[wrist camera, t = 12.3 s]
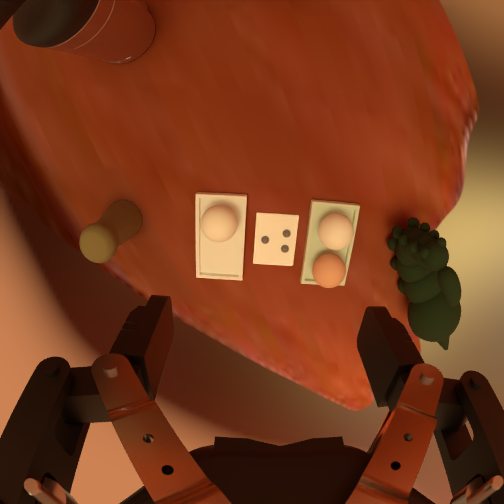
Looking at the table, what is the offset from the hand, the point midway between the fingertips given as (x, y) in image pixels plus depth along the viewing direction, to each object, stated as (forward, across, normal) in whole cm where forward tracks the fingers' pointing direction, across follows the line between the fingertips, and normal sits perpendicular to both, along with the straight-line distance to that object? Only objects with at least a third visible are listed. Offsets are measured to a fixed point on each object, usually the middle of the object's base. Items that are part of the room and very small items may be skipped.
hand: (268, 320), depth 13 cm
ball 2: (+32, -11, +7) cm, 35 cm away
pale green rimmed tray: (+33, -11, +10) cm, 36 cm away
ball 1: (+32, +5, +7) cm, 33 cm away
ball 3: (+32, -11, +13) cm, 37 cm away
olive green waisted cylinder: (+33, +20, +8) cm, 39 cm away
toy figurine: (+33, -27, +14) cm, 45 cm away
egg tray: (+33, +5, +10) cm, 35 cm away
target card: (+33, -3, +10) cm, 34 cm away
